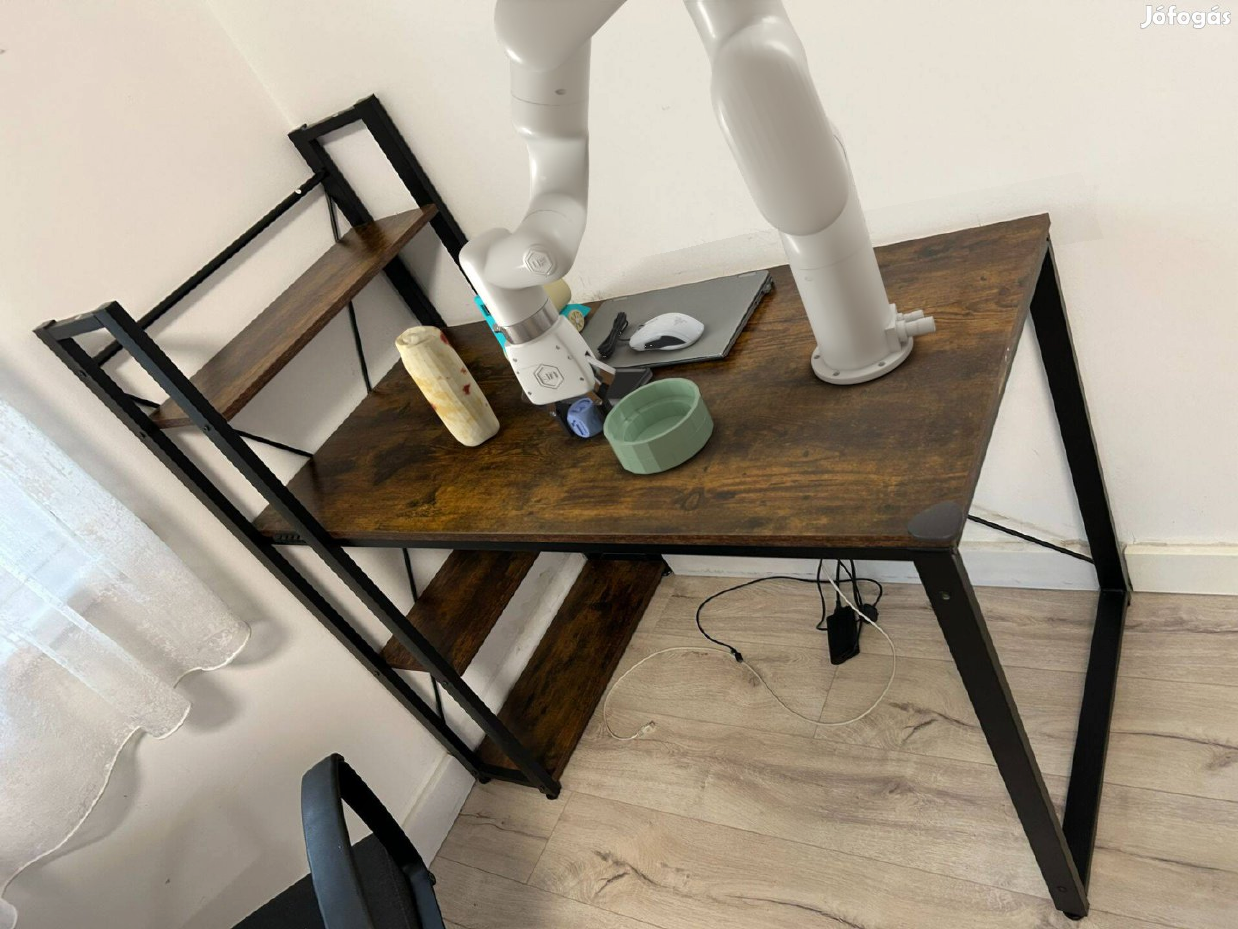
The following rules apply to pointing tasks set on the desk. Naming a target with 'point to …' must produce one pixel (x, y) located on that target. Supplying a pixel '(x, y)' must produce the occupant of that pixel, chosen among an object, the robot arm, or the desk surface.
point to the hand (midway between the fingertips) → (591, 425)
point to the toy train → (560, 300)
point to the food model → (447, 384)
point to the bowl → (658, 425)
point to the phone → (621, 383)
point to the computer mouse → (655, 333)
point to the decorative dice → (584, 418)
